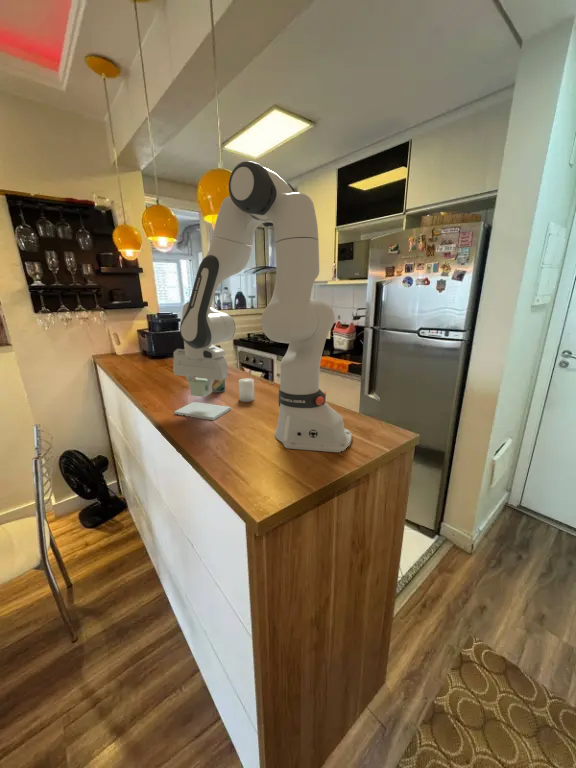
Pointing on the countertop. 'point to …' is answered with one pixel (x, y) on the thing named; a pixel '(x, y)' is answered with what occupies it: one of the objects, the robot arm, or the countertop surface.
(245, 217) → the robot arm
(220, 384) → the lotion bottle
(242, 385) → the white rounded cylinder
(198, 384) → the sage block
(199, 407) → the tray
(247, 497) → the countertop surface
